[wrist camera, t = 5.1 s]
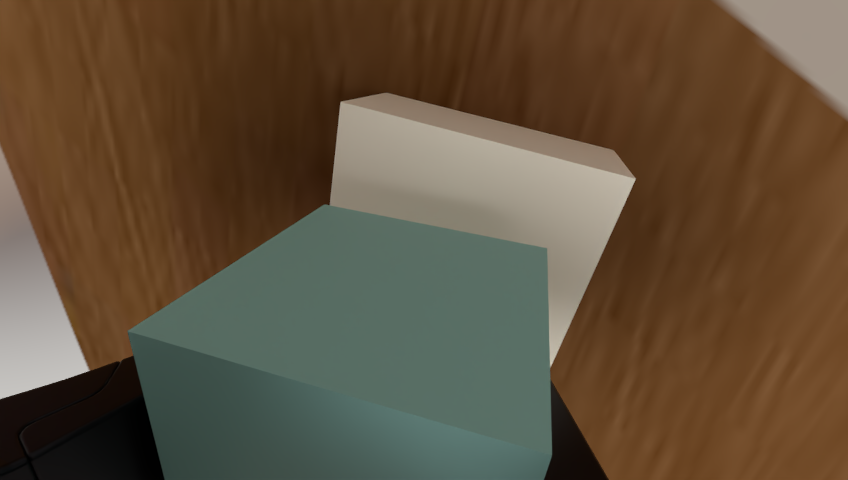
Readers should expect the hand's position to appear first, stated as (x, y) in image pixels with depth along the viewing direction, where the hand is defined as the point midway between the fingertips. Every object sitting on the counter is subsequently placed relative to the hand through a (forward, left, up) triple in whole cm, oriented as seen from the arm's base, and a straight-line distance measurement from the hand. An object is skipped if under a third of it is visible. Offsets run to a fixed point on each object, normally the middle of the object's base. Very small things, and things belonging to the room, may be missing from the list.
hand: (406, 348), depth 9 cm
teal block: (0, 0, -1) cm, 1 cm away
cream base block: (0, 0, -8) cm, 8 cm away
